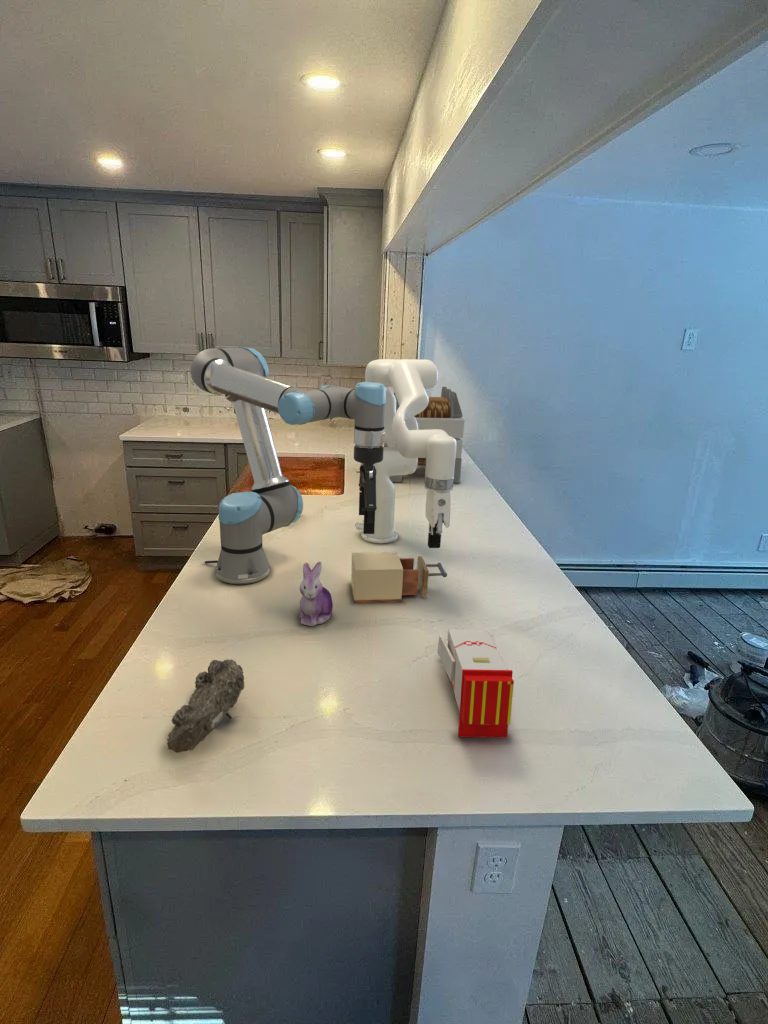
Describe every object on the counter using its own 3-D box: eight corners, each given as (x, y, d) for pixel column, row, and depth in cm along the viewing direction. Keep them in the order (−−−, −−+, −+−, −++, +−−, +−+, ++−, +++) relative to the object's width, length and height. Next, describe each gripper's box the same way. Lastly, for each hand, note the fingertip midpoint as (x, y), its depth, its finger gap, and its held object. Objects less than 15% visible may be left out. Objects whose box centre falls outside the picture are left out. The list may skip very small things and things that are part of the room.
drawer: (439, 580, 165) (441, 555, 162) (446, 596, 156) (449, 570, 153) (380, 581, 162) (381, 556, 160) (384, 598, 153) (385, 571, 151)
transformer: (382, 463, 289) (386, 382, 275) (445, 464, 293) (451, 384, 279) (390, 482, 257) (394, 392, 243) (460, 483, 261) (468, 394, 247)
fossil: (192, 660, 117) (244, 628, 112) (224, 691, 120) (276, 661, 115) (142, 746, 98) (202, 712, 93) (182, 779, 101) (242, 748, 96)
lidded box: (395, 583, 164) (397, 552, 160) (401, 602, 154) (403, 569, 150) (351, 584, 162) (351, 552, 159) (354, 603, 152) (354, 569, 149)
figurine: (305, 631, 137) (304, 575, 132) (291, 611, 146) (290, 558, 141) (340, 623, 142) (342, 569, 137) (325, 604, 150) (326, 552, 145)
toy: (488, 613, 130) (523, 677, 101) (484, 667, 133) (517, 744, 104) (435, 612, 130) (455, 676, 101) (432, 666, 133) (451, 743, 103)
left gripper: (390, 458, 132) (386, 541, 139) (377, 434, 155) (374, 507, 162) (358, 457, 131) (355, 542, 138) (350, 434, 154) (348, 507, 161)
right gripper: (459, 491, 143) (453, 558, 149) (446, 475, 156) (441, 536, 163) (430, 491, 142) (425, 558, 148) (419, 474, 155) (415, 536, 162)
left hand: (366, 523), depth 150 cm, fingers open, 13 cm apart
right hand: (433, 546), depth 155 cm, fingers closed
